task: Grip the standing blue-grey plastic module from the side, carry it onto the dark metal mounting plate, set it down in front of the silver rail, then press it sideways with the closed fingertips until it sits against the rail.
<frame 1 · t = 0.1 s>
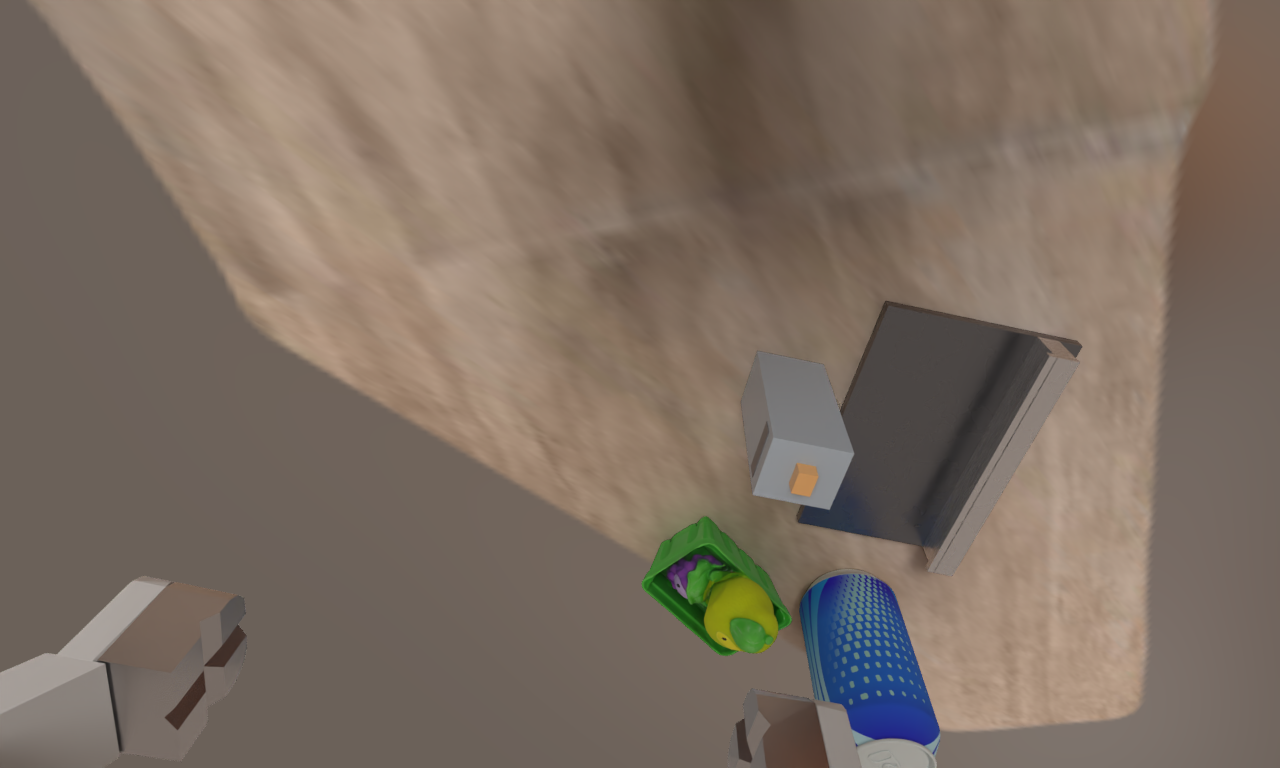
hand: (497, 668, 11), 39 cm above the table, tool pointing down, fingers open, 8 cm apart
rail plate: (924, 435, 55), on the table
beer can: (844, 594, 64), on the table
fruit basket: (720, 554, 62), on the table
module: (781, 383, 53), on the table
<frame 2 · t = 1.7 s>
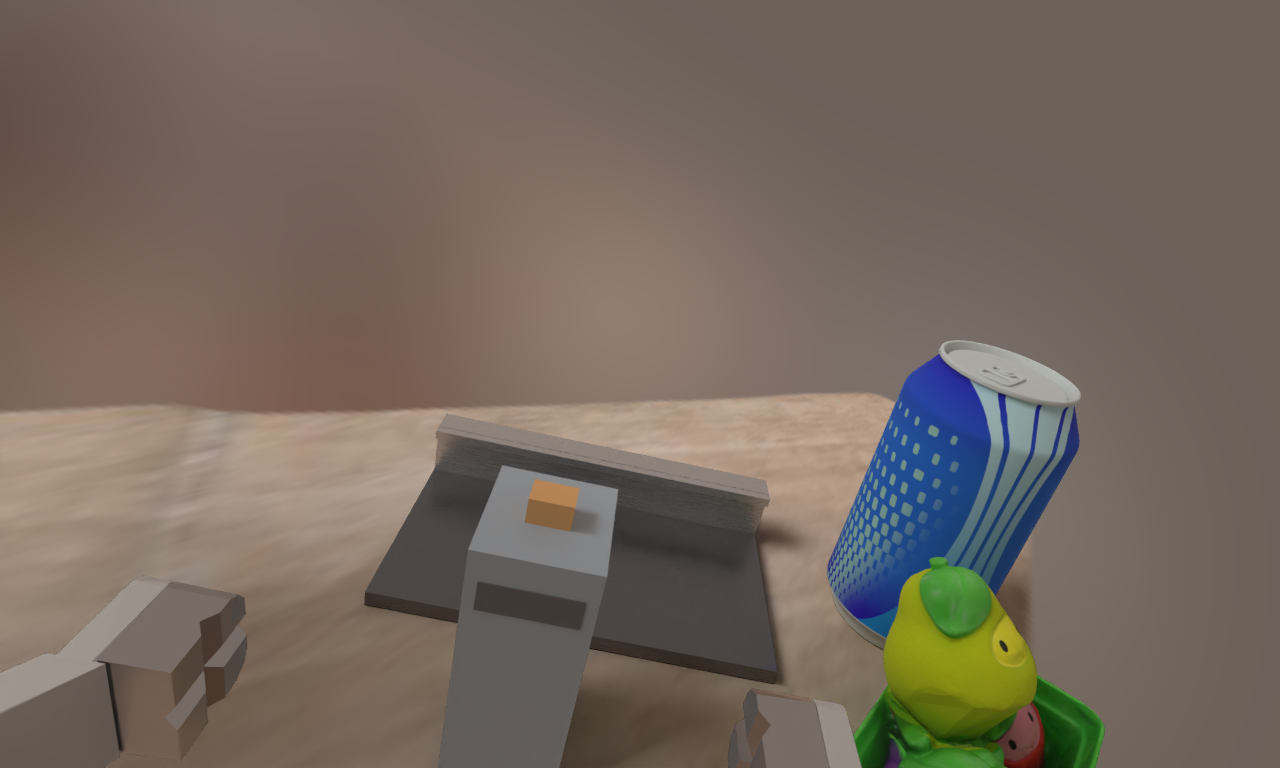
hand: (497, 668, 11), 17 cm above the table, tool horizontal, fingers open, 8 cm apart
rail plate: (587, 551, 41), on the table
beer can: (888, 614, 42), on the table
module: (508, 727, 30), on the table
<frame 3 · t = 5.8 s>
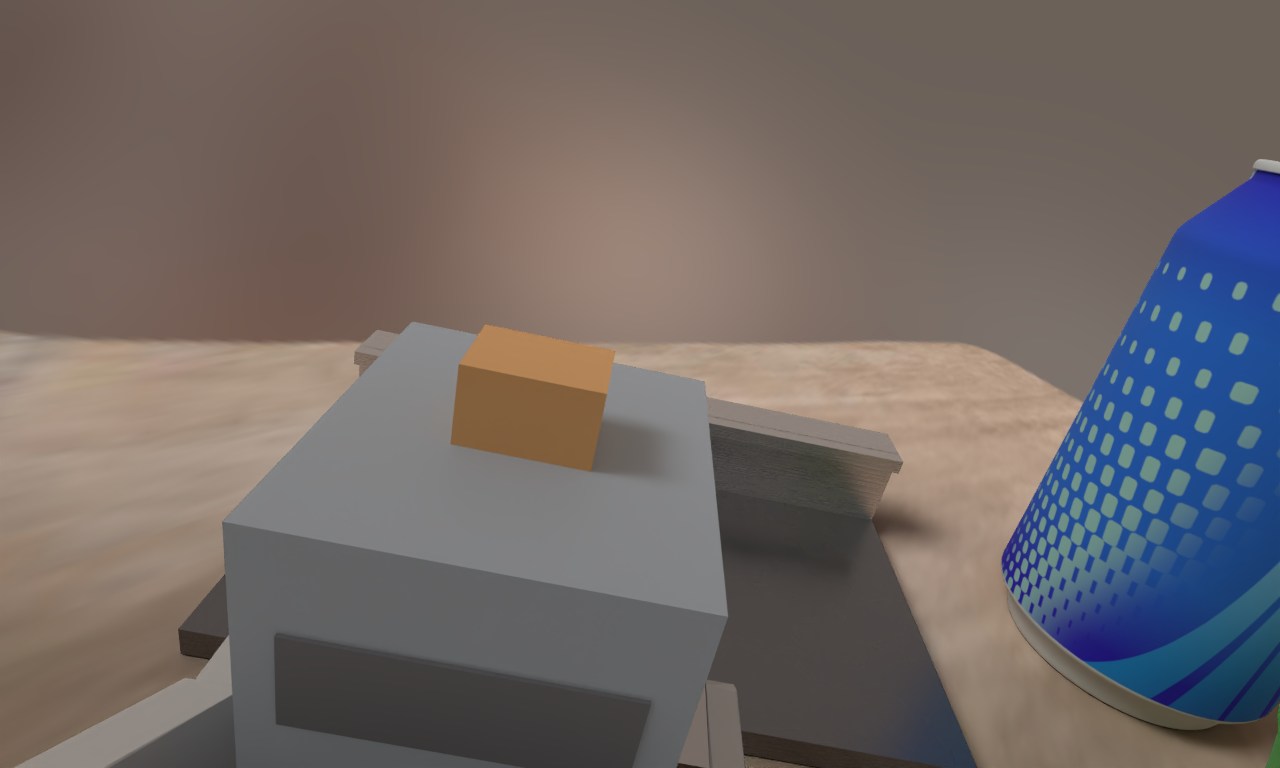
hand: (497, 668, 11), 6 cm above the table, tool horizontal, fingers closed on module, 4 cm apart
rail plate: (607, 548, 24), on the table
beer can: (1106, 648, 25), on the table
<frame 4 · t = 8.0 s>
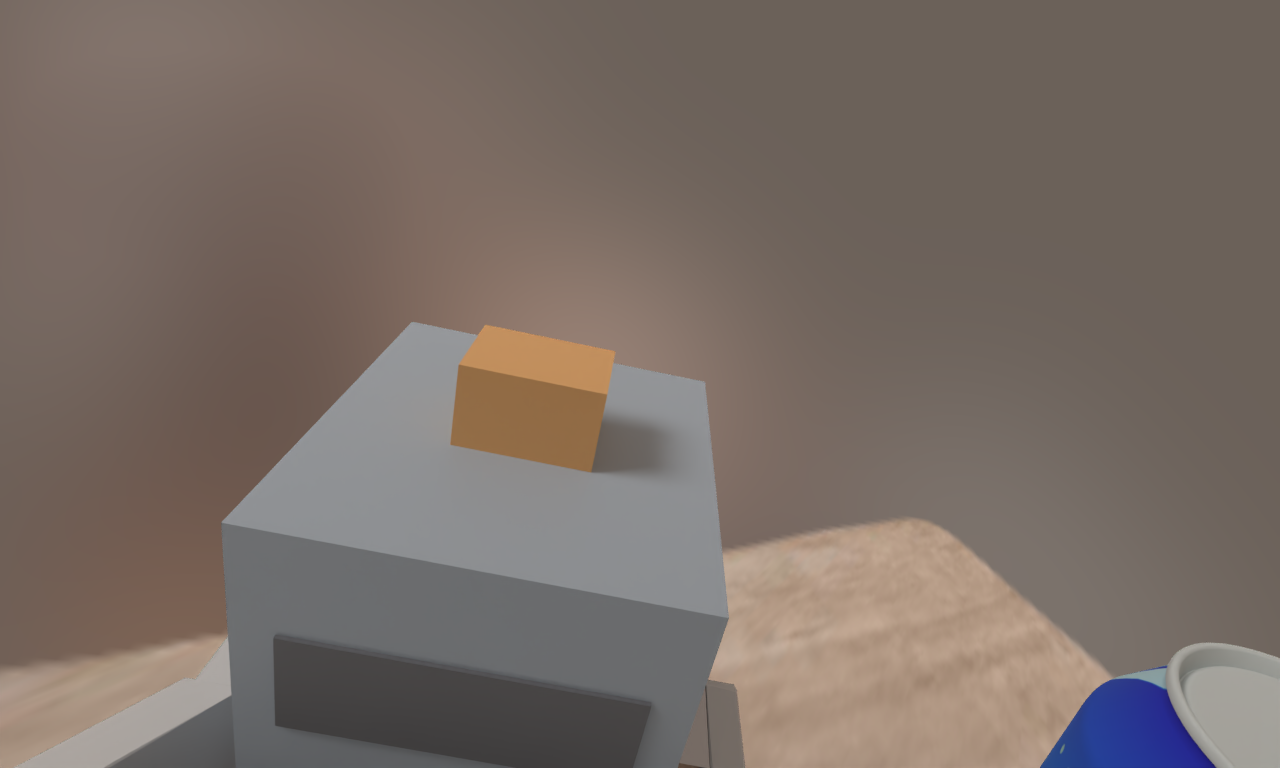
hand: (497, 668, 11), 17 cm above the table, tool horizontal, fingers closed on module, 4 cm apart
when the fingers open (8 cm above the table, at t = 10.1 s): module drops 1 cm, resting on rail plate.
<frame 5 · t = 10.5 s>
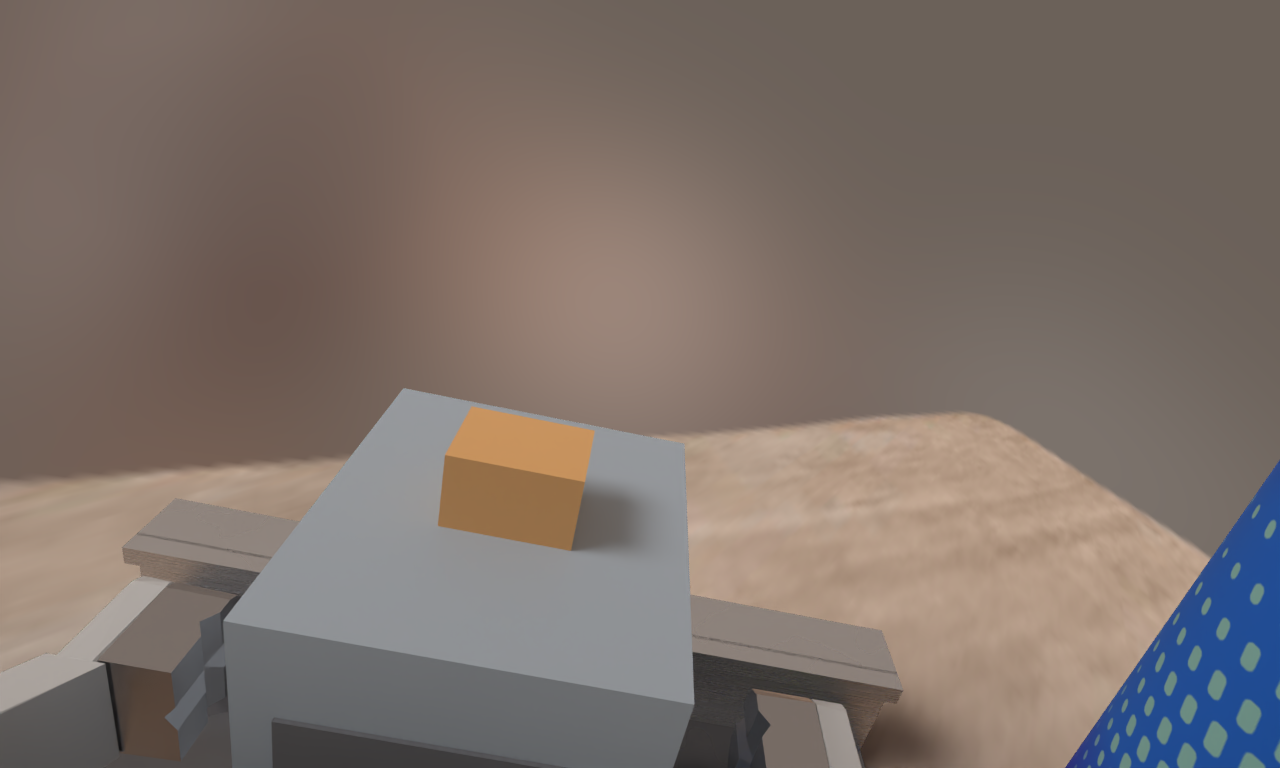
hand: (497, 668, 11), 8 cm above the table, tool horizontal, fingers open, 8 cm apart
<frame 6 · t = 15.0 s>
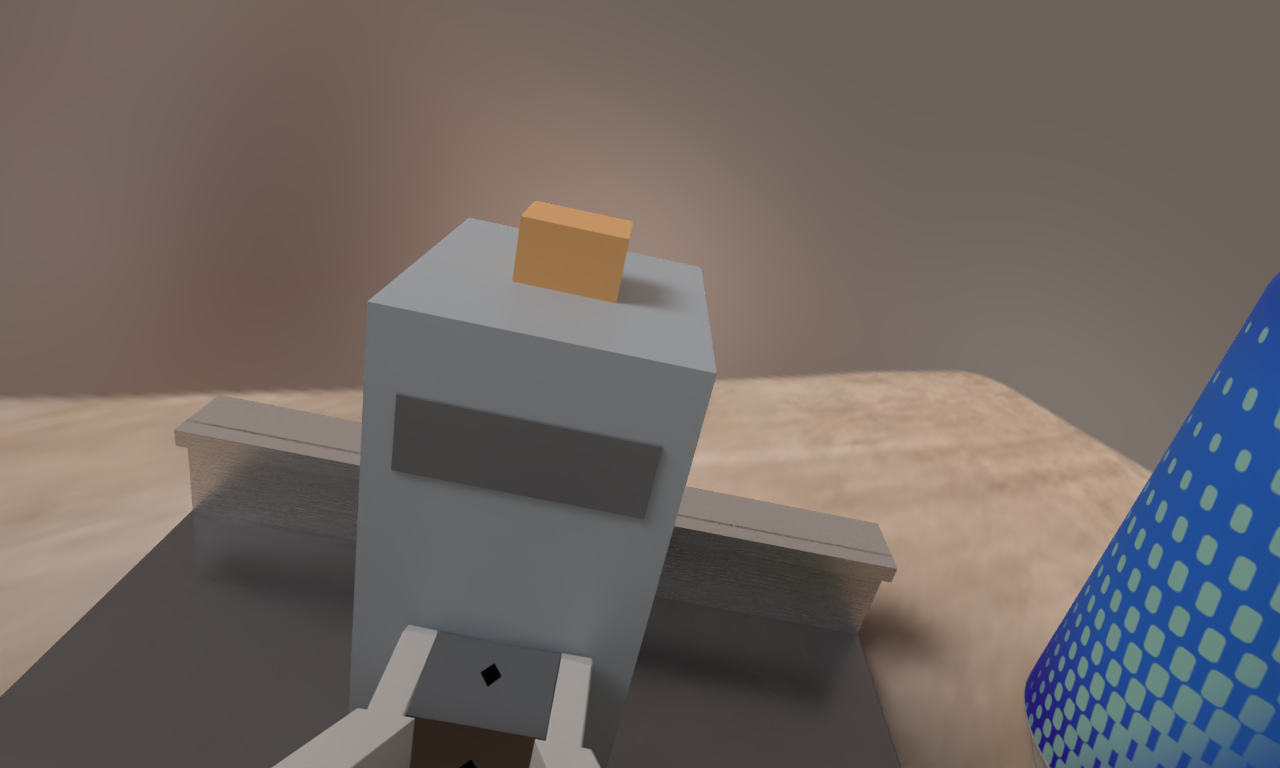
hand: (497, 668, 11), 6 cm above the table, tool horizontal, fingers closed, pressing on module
rail plate: (504, 694, 18), on the table
module: (489, 745, 16), point 1 cm above the table, touching gripper, rail plate
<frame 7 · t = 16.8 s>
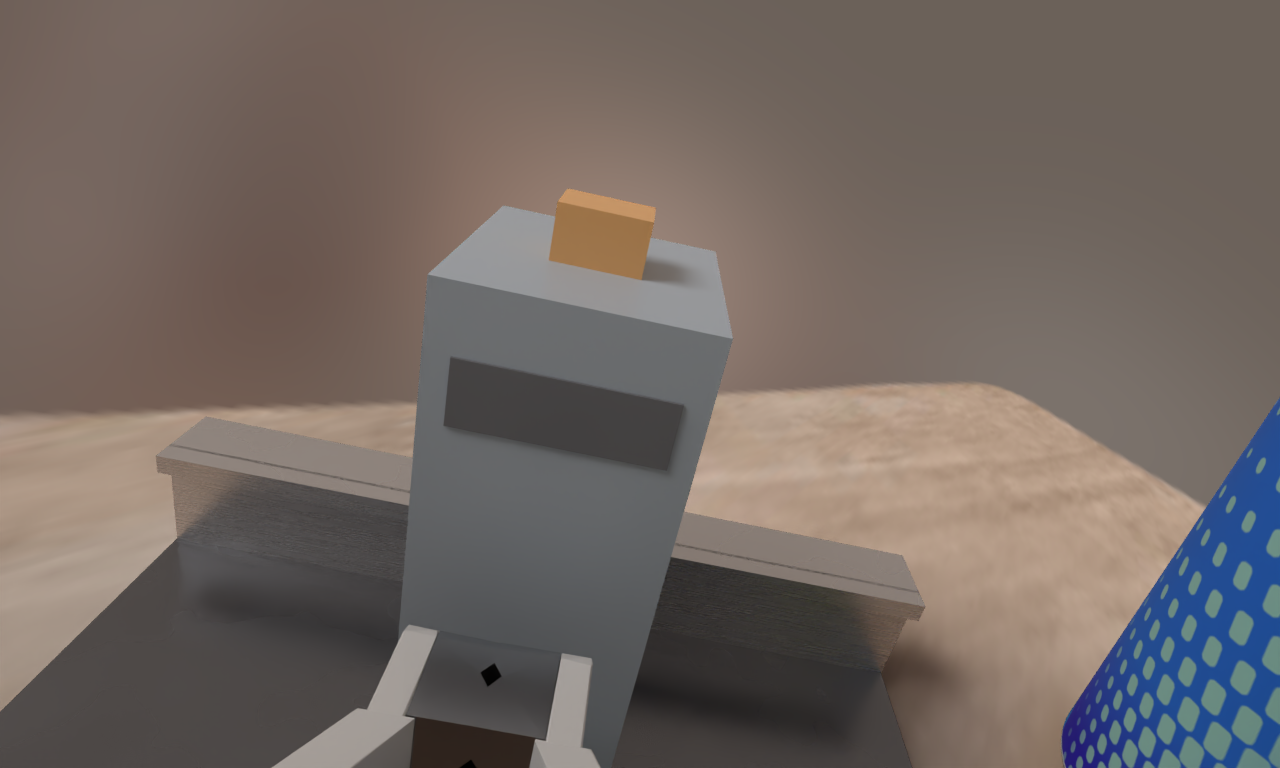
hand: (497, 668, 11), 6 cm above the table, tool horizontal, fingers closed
rail plate: (505, 742, 17), on the table
module: (517, 695, 17), point 1 cm above the table, touching rail plate
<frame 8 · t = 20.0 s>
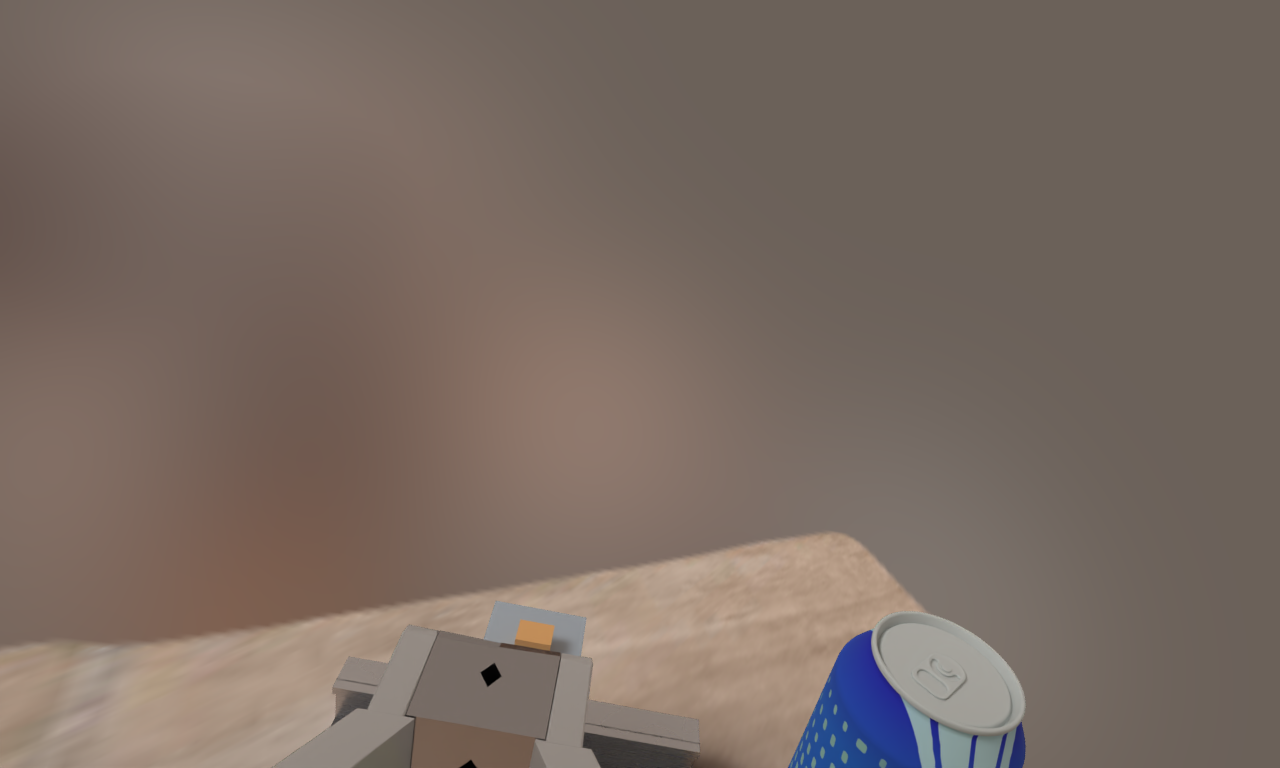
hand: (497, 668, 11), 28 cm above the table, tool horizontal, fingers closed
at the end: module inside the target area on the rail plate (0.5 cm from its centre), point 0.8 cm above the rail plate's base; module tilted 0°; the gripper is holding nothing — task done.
